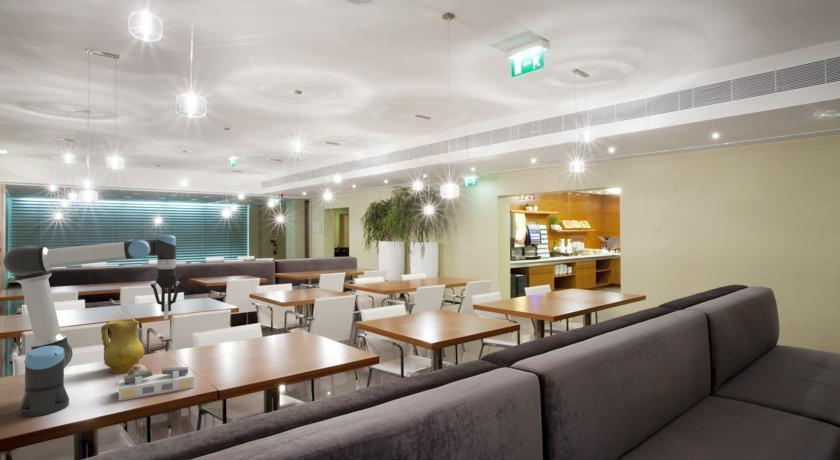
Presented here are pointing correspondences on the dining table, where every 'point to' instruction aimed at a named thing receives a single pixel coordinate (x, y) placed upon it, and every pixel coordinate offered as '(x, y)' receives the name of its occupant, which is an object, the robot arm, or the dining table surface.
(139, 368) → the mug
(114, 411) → the dining table surface
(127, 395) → the switch unit
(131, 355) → the pitcher
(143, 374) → the rocker
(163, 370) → the rocker
